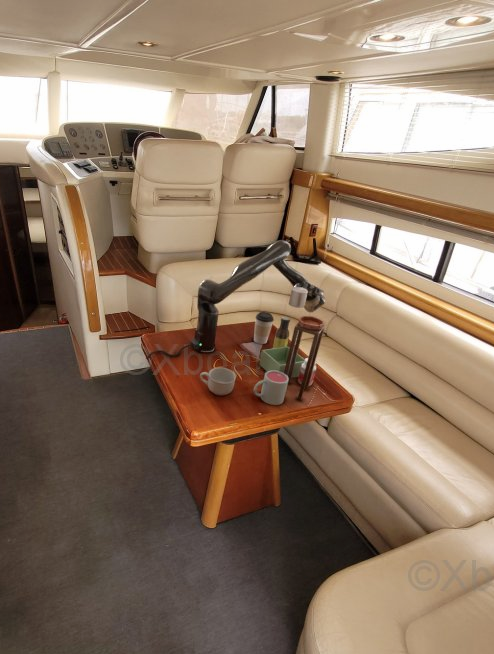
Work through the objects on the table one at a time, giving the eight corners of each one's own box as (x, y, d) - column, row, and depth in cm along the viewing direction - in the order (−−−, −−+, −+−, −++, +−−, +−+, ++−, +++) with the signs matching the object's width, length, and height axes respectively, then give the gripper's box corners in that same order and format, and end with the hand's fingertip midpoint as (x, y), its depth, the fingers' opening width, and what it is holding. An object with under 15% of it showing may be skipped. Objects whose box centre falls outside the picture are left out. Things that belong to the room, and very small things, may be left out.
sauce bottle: (286, 359, 183) (295, 321, 173) (274, 360, 181) (282, 321, 172) (281, 353, 188) (289, 315, 178) (269, 353, 187) (277, 315, 177)
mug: (275, 390, 159) (280, 369, 154) (288, 403, 152) (293, 381, 147) (246, 394, 154) (250, 373, 150) (257, 408, 147) (261, 386, 142)
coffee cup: (268, 337, 202) (273, 311, 195) (269, 345, 194) (275, 318, 187) (251, 335, 202) (256, 309, 195) (251, 343, 195) (256, 316, 187)
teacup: (235, 387, 158) (238, 371, 154) (229, 401, 149) (232, 384, 145) (203, 379, 161) (205, 363, 157) (195, 393, 152) (197, 375, 148)
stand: (286, 381, 165) (303, 313, 150) (307, 389, 162) (327, 319, 146) (278, 393, 157) (295, 321, 142) (300, 401, 154) (320, 328, 138)
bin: (276, 380, 166) (280, 365, 162) (259, 364, 177) (261, 350, 173) (303, 375, 171) (307, 361, 167) (284, 360, 182) (287, 346, 178)
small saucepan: (298, 293, 170) (301, 279, 167) (312, 297, 168) (316, 282, 164) (286, 305, 157) (289, 290, 154) (301, 309, 154) (305, 293, 151)
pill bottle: (306, 378, 170) (312, 356, 164) (314, 385, 165) (321, 363, 159) (294, 379, 167) (300, 357, 162) (302, 387, 163) (308, 364, 157)
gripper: (298, 283, 180) (292, 272, 164) (328, 290, 175) (325, 280, 159) (293, 298, 181) (287, 289, 165) (322, 306, 175) (319, 297, 159)
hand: (305, 284), depth 162 cm, fingers closed on small saucepan
